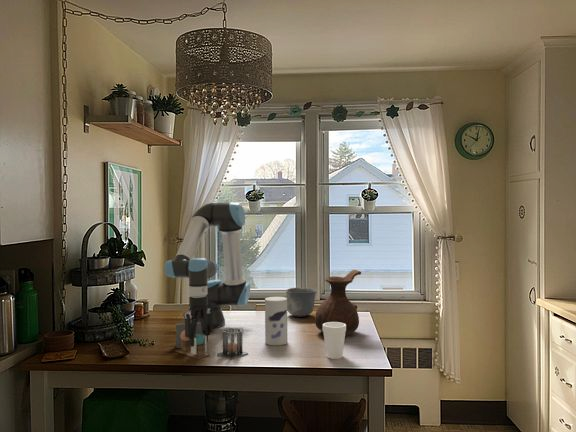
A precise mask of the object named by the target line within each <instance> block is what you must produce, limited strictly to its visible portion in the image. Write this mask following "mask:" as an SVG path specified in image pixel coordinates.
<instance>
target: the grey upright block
mask: <svg viewBox="0 0 576 432" xmlns="http://www.w3.org/2000/svg"><path fill="white" fill-rule="evenodd" d="M183 331H185V322H184V323H175V348H177V349H179V348H180V349H181V341H182V339H181V337H180V335H181V333H182V332H183ZM196 334H202V335H203V332H202V327H201V323H197V327H196V333H195V335H196Z"/></svg>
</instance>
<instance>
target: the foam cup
mask: <svg viewBox="0 0 576 432" xmlns="http://www.w3.org/2000/svg"><path fill="white" fill-rule="evenodd" d="M345 332H346V324H344V323H340V322H327V323H324V324H323V332H322V333H323V339H324V346H325V353H326V358H328V359H331V360H334V359H335V360H339V359H342V358H343V356H344V346H345V338H346V336H345Z"/></svg>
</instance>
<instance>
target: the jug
mask: <svg viewBox="0 0 576 432" xmlns="http://www.w3.org/2000/svg"><path fill="white" fill-rule="evenodd" d="M360 275H362V272H361V270H357V269H352V270H351V271H349V273H347V274H346V275H345V276H342V277H341V276H333V275H331V276H327V277H326V278H325V279H324V281H325V282H326V283H328V284H329V286H330V289H331V290H330V294H329V296H328V297H327V298H326V299H325V300H323V301H322V302H321V303H320V304H319V306H318V307H317V309H316V312H315V316H314V323H315V326H316V328H317V330H320V331H321V332H322V333H323V324H324V323H327V322H340V323H344V324H346V332H345V337H346V336H349V335H351V334H353V333H354V332H355V331H357V330H358V329H359V324H360V317H359V314H358V311H357V309H358V305H357V304H355V303H353V302H352V301H350V300H349V299H348V296H347V294H346V289H347V286H348V285H349V284H350V283H353V281H354V279H355V277H356V276H360Z"/></svg>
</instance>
